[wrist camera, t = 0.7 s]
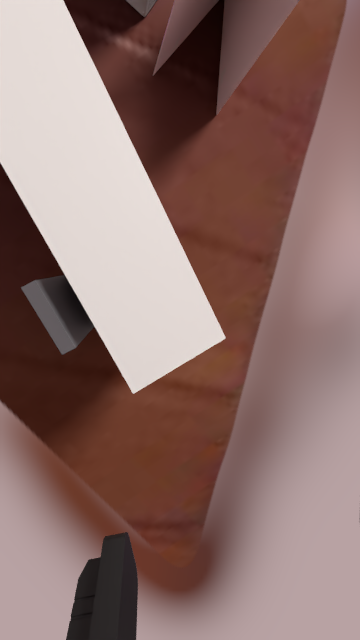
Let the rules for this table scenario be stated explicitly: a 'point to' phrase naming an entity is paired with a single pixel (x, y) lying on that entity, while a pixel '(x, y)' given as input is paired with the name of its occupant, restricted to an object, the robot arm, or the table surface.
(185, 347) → the white switch box
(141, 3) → the coffee box
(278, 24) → the greeting card
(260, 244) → the table surface
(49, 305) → the outer rocker
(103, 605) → the robot arm
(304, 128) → the table surface
